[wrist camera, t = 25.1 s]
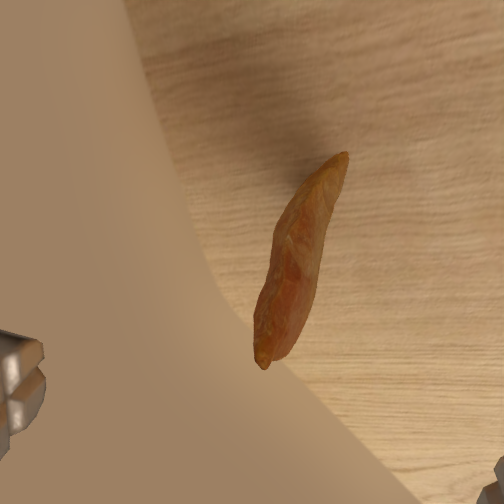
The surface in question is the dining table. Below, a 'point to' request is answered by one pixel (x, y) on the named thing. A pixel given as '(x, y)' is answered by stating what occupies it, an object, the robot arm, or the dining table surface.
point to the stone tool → (296, 262)
